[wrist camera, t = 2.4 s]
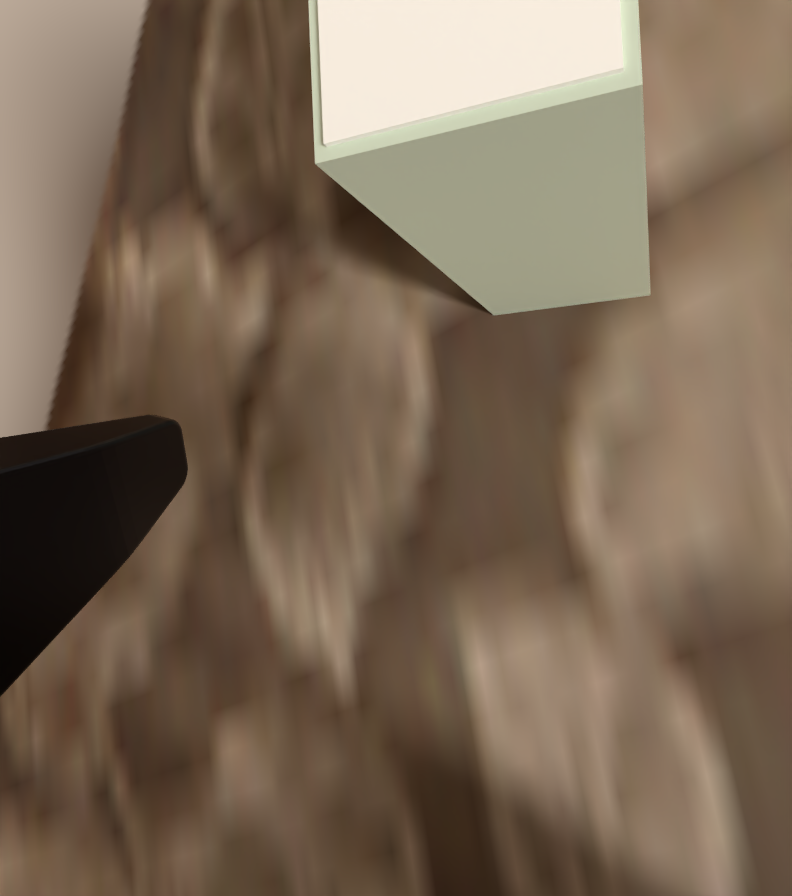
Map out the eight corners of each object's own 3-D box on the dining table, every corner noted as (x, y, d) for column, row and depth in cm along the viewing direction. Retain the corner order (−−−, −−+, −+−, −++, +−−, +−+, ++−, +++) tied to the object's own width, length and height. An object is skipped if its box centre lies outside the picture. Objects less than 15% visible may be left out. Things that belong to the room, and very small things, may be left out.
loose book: (637, 45, 18) (612, -498, 8) (650, 295, 18) (642, 79, 8) (483, 86, 20) (292, -317, 9) (493, 315, 19) (311, 160, 9)
